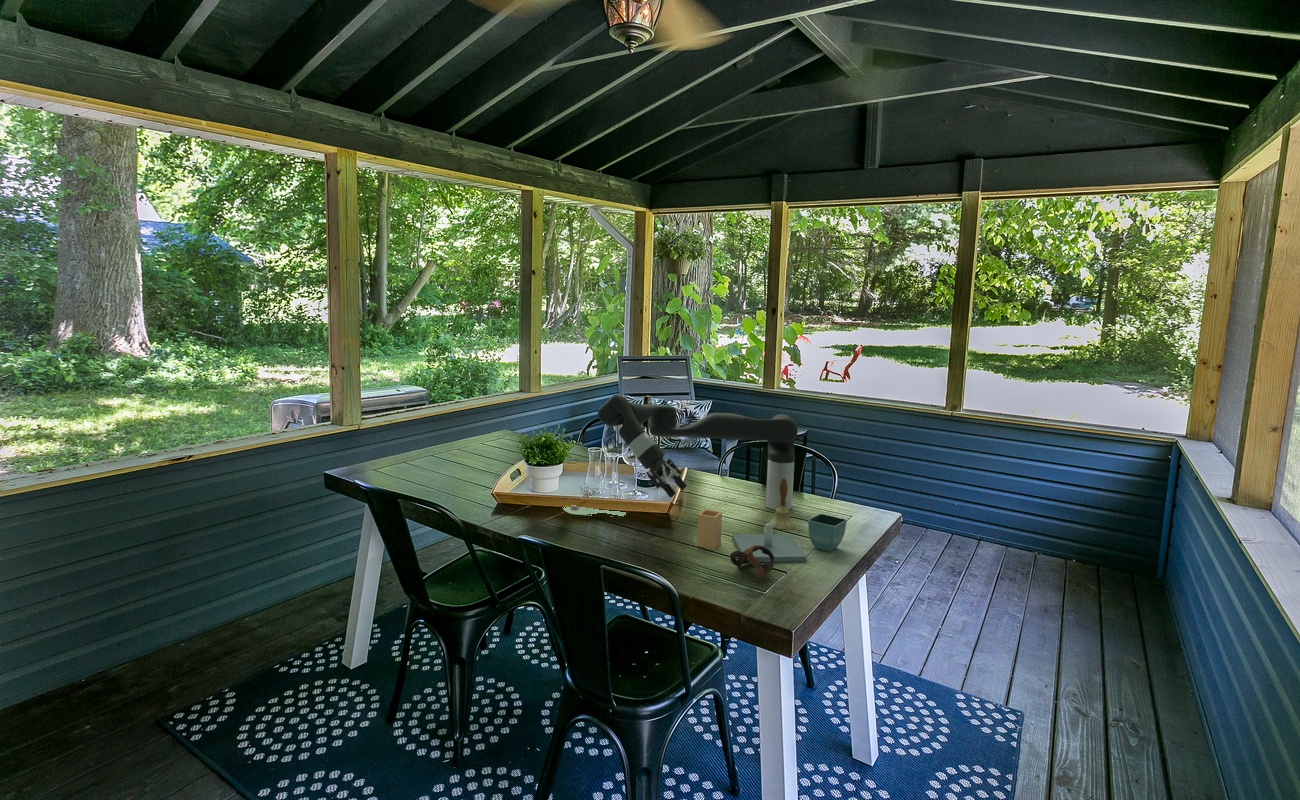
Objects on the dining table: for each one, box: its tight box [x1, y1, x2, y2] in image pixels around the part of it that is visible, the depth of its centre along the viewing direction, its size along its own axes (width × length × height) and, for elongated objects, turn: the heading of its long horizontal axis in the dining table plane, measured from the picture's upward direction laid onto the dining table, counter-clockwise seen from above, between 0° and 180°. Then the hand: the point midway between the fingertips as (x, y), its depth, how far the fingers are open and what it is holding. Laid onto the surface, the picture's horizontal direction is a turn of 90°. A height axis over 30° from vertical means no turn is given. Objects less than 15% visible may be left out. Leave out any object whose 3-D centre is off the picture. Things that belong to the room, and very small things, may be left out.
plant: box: [562, 483, 627, 517], centre depth 233 cm, size 25×21×9 cm
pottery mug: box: [729, 545, 775, 579], centre depth 181 cm, size 12×10×8 cm
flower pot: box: [807, 513, 848, 553], centre depth 199 cm, size 9×9×9 cm
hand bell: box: [769, 478, 796, 531], centre depth 218 cm, size 8×8×16 cm
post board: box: [731, 522, 808, 563], centre depth 197 cm, size 18×18×8 cm
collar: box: [696, 508, 723, 551], centre depth 200 cm, size 6×6×10 cm
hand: (679, 491), depth 202 cm, fingers open, 8 cm apart
